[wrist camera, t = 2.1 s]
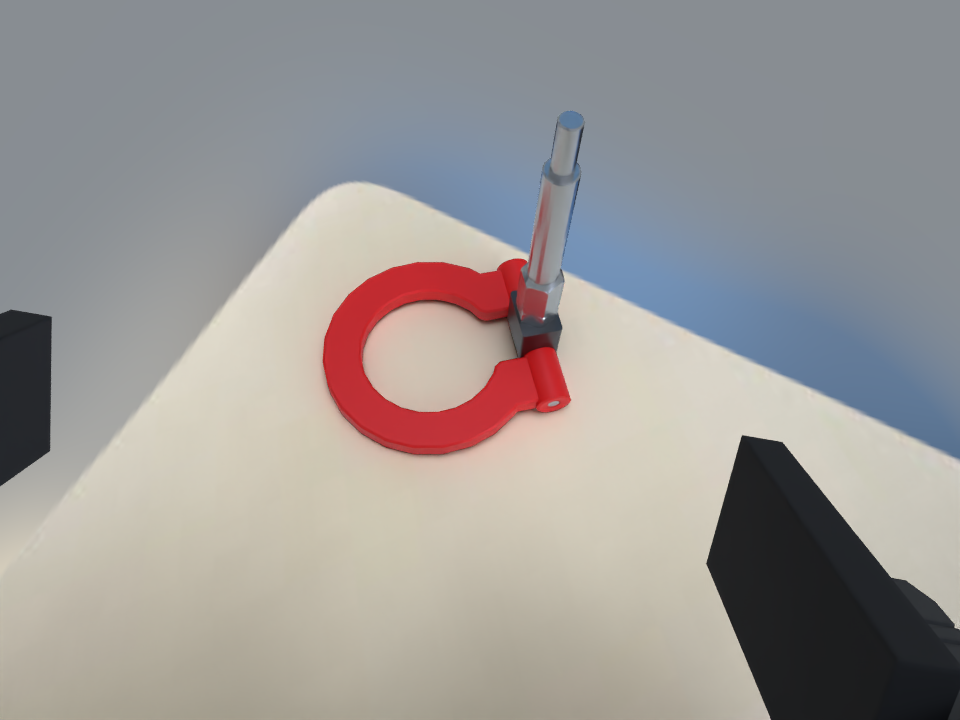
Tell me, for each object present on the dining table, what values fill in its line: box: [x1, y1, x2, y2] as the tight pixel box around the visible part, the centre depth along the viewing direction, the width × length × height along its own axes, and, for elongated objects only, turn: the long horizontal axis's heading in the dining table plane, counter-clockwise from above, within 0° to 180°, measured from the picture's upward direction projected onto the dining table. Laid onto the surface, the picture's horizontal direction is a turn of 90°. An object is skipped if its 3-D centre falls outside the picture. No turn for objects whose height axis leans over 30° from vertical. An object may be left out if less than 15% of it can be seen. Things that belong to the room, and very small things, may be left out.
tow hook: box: [323, 111, 585, 454], centre depth 28 cm, size 8×13×9 cm
